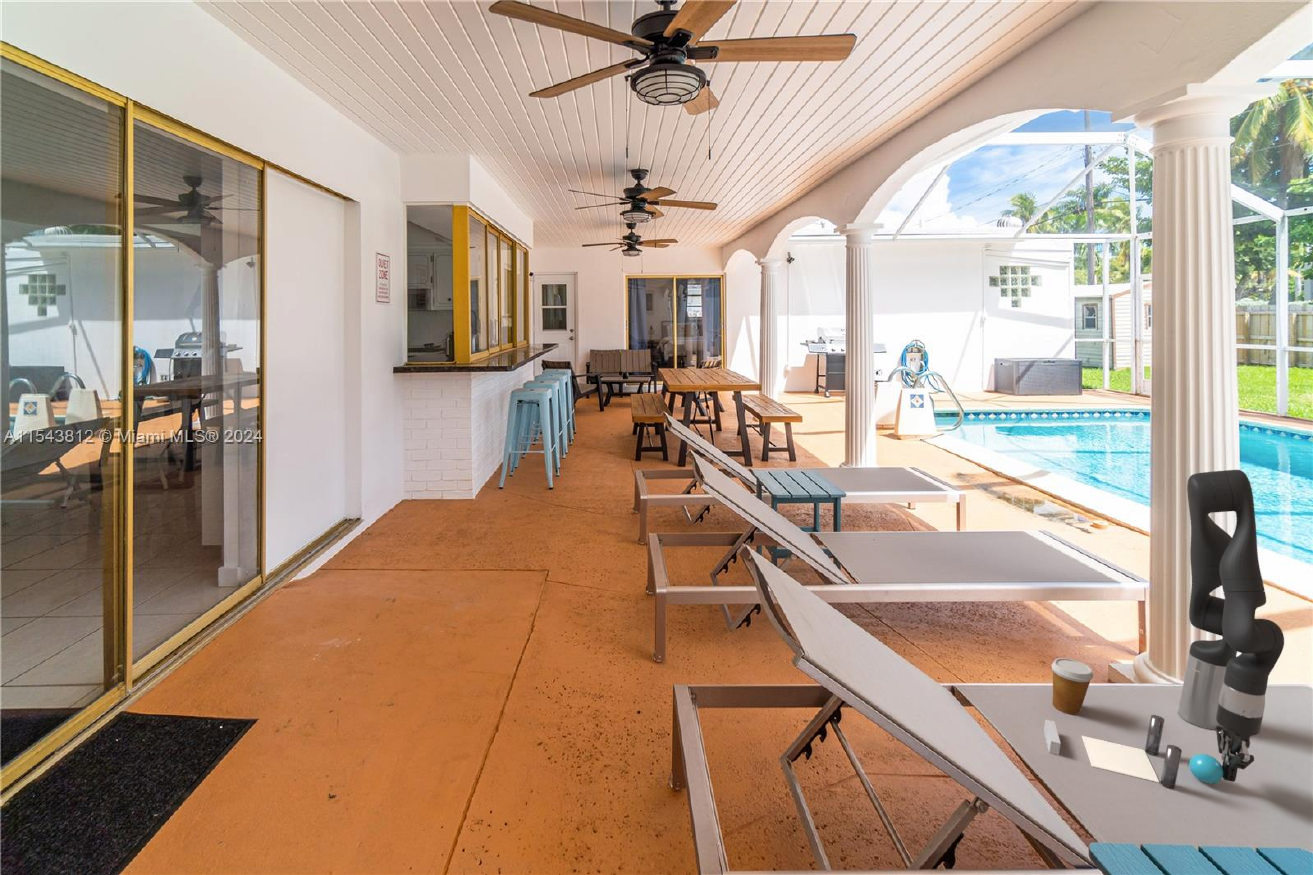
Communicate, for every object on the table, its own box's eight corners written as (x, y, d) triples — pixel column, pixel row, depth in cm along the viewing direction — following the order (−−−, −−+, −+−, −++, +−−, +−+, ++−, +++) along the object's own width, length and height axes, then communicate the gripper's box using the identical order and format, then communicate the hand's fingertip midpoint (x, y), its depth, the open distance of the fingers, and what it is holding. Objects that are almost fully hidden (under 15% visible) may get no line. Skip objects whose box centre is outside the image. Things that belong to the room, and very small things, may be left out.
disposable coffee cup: (1093, 720, 178) (1100, 677, 176) (1053, 714, 180) (1059, 672, 178) (1078, 701, 188) (1085, 659, 186) (1040, 695, 189) (1046, 655, 187)
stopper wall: (1043, 730, 173) (1045, 719, 172) (1052, 732, 172) (1054, 721, 171) (1049, 752, 164) (1051, 741, 163) (1058, 755, 163) (1060, 743, 162)
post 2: (1158, 780, 155) (1165, 743, 154) (1172, 783, 154) (1179, 746, 153) (1162, 787, 153) (1169, 750, 151) (1176, 790, 152) (1183, 753, 150)
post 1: (1143, 747, 167) (1149, 713, 166) (1156, 750, 166) (1162, 716, 165) (1146, 754, 165) (1152, 719, 163) (1159, 756, 164) (1165, 722, 162)
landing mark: (1081, 736, 171) (1081, 735, 171) (1144, 750, 166) (1144, 750, 166) (1091, 766, 159) (1092, 765, 159) (1159, 783, 154) (1159, 782, 154)
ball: (1207, 774, 159) (1179, 762, 160) (1223, 755, 156) (1194, 743, 158) (1218, 794, 153) (1189, 781, 154) (1234, 775, 151) (1204, 762, 152)
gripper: (1207, 689, 159) (1195, 758, 161) (1233, 718, 147) (1220, 793, 149) (1247, 696, 156) (1234, 766, 159) (1277, 726, 144) (1262, 802, 147)
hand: (1227, 779), depth 154 cm, fingers closed
